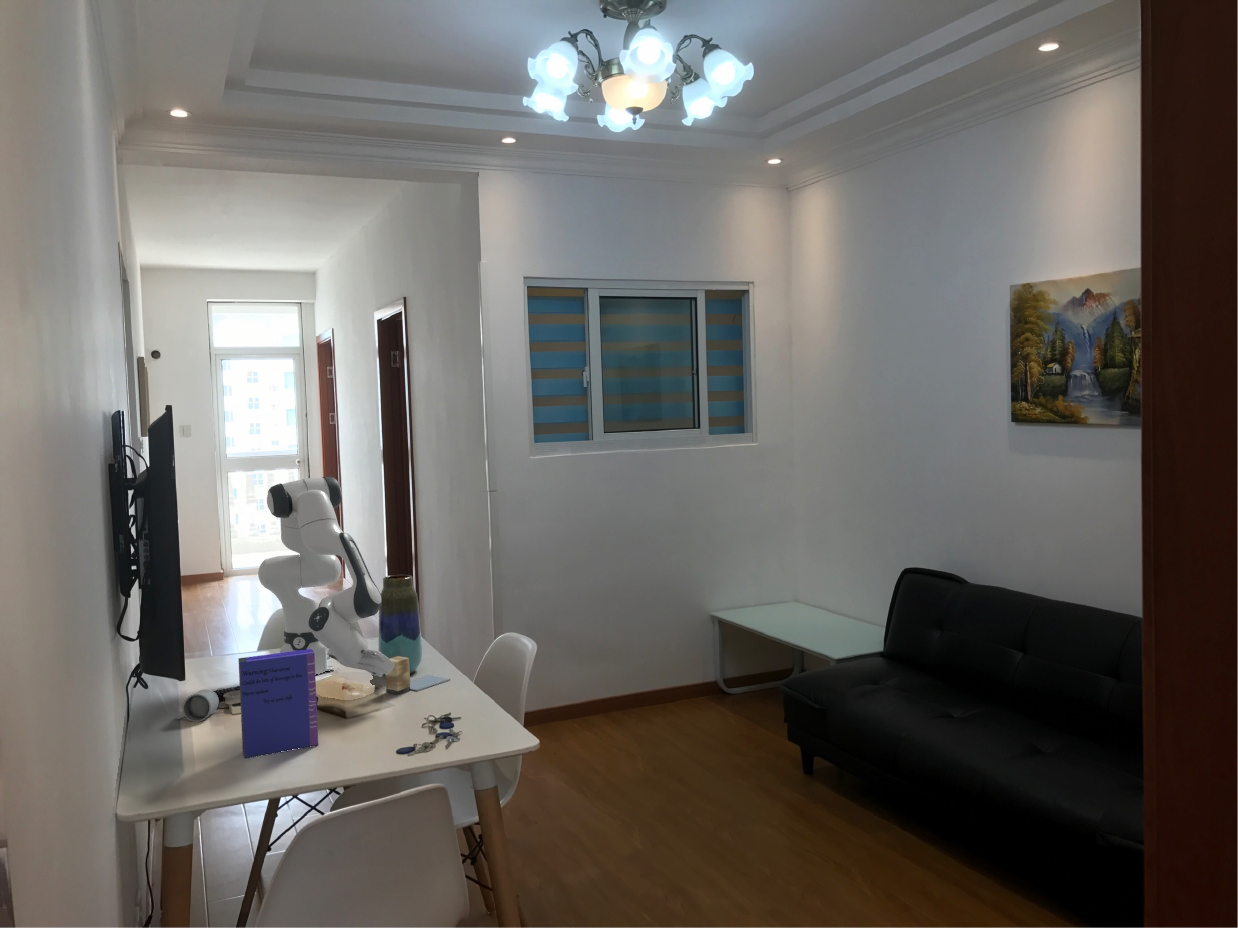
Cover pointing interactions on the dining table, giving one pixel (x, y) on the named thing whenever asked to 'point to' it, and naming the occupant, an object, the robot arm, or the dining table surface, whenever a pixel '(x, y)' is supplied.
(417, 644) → the vase
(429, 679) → the rubber mat
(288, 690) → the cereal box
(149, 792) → the dining table surface
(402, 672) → the oak block
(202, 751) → the dining table surface
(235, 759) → the dining table surface
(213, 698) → the ceramic mug
